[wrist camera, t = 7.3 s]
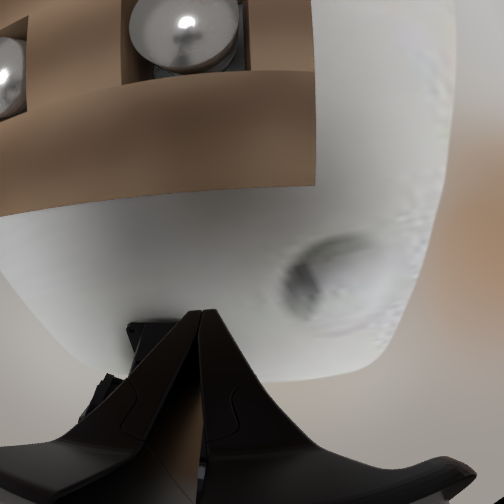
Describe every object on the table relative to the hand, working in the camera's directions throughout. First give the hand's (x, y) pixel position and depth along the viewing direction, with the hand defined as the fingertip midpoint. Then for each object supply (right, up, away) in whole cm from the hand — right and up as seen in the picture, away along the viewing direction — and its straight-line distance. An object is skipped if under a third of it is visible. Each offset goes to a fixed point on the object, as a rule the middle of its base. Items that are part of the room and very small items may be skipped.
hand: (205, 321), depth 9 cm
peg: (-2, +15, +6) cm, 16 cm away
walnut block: (-7, +14, +6) cm, 17 cm away
